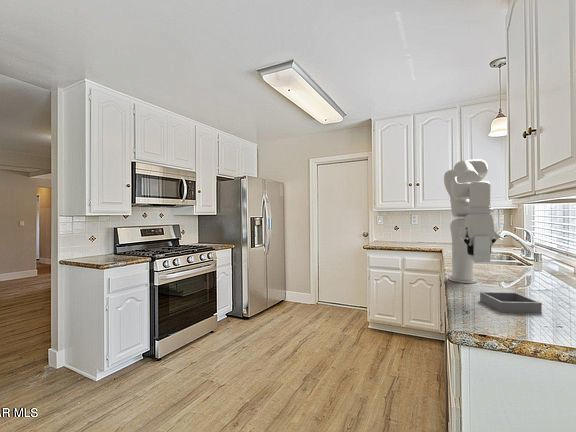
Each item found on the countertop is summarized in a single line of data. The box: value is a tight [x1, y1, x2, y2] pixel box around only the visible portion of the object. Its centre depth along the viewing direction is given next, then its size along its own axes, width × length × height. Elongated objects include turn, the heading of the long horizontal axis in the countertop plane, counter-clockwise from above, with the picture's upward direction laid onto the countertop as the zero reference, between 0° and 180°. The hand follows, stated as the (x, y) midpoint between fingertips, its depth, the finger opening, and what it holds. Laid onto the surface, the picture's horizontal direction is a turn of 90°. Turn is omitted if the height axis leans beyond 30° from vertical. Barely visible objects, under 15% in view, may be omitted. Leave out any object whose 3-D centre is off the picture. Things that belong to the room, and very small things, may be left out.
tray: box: [479, 291, 543, 314], centre depth 116 cm, size 14×14×4 cm
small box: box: [469, 236, 491, 263], centre depth 128 cm, size 8×6×10 cm
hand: (479, 254), depth 128 cm, fingers closed on small box, 6 cm apart
